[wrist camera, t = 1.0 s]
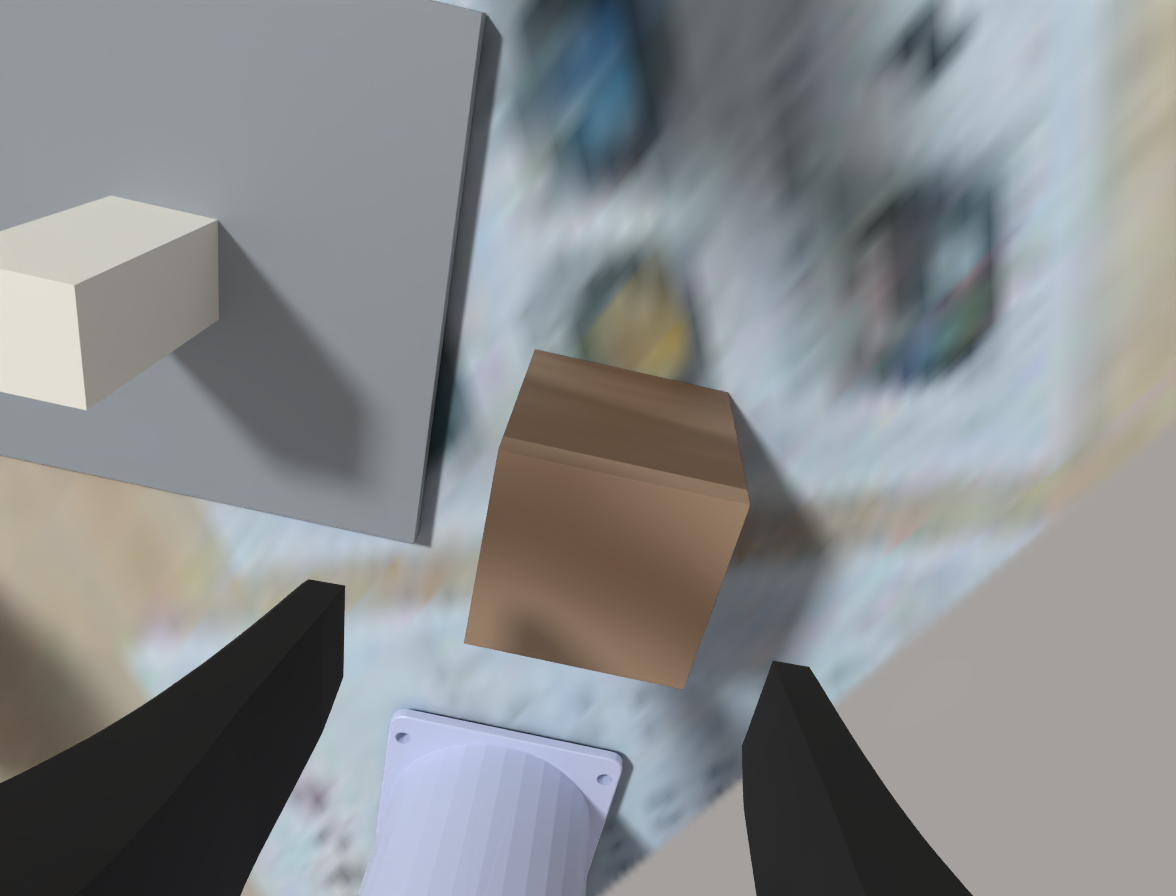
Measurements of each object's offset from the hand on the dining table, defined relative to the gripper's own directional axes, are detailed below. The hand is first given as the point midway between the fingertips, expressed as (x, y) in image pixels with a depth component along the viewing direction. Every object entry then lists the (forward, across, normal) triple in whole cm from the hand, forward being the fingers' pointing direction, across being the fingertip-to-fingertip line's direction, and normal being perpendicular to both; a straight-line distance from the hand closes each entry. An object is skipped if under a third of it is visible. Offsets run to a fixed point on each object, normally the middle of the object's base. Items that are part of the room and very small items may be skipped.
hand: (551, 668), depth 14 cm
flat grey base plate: (+10, +11, -2) cm, 15 cm away
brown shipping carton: (+10, -1, +1) cm, 10 cm away
